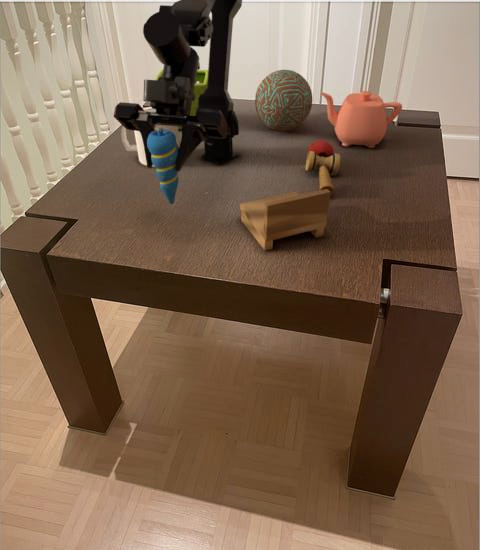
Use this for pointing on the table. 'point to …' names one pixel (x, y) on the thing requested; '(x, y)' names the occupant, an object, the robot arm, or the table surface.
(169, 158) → the ornament
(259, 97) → the decorative sphere
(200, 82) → the flower pot
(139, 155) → the mug
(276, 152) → the table surface
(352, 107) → the teapot
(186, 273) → the table surface
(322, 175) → the kendama
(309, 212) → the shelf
